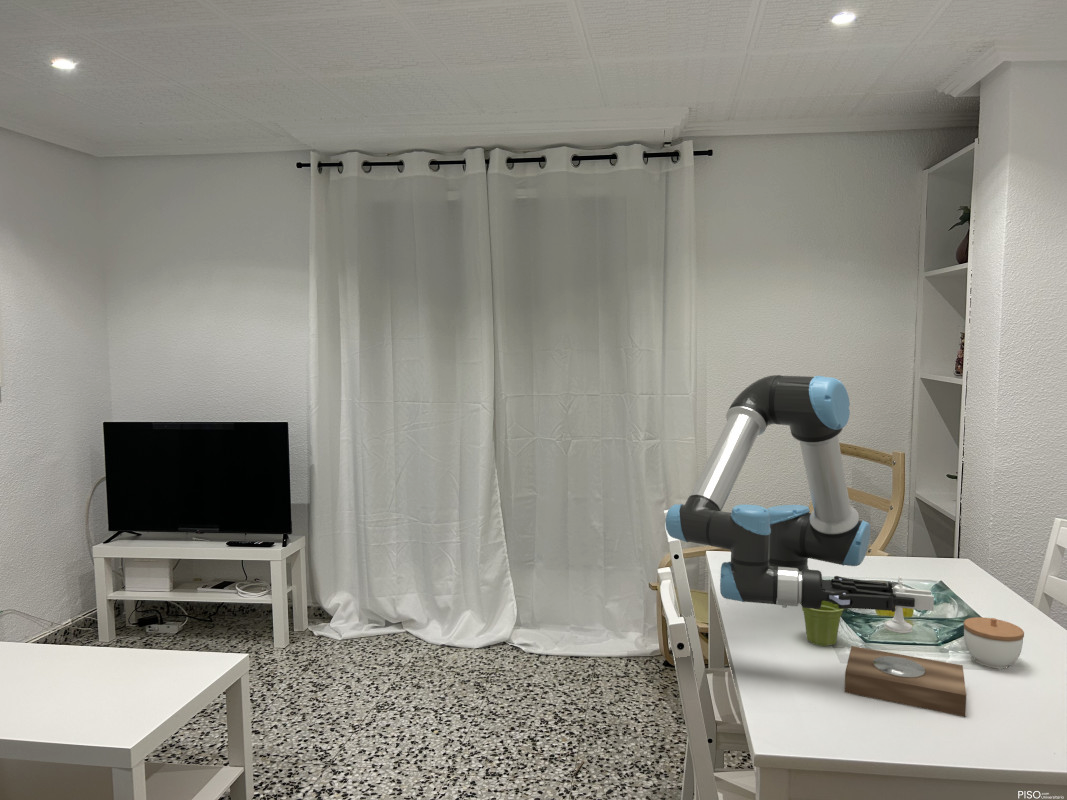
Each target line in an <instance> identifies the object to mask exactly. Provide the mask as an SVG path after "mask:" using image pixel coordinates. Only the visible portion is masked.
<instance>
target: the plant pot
mask: <svg viewBox="0 0 1067 800" xmlns="http://www.w3.org/2000/svg"><path fill="white" fill-rule="evenodd" d="M801 608H802V612H803V616H804V618H803V619H804V624H805V631H806V633H805V634H806V640H807V641H808V642H811V644H813V645H814V646H822V647H827V646H829V645H831V646H834V645H836V644H837V639H838V632H839V628H840V627H839V626H840V623H841V616H842V615H843V611H844V610H845V609H840V608H838V604H833V603H832V602H827V601H822V604H821V608H820V609H811V608H803V607H802V606H801Z"/></svg>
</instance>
